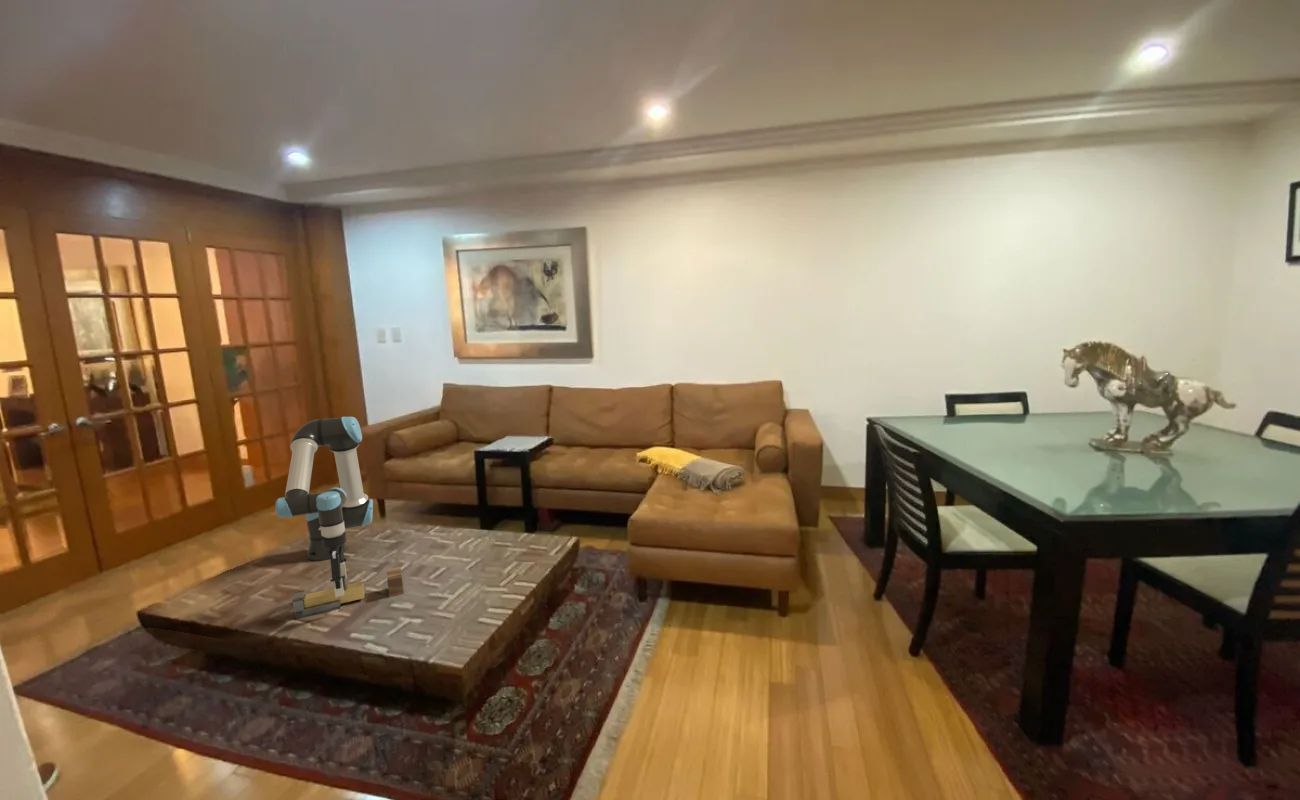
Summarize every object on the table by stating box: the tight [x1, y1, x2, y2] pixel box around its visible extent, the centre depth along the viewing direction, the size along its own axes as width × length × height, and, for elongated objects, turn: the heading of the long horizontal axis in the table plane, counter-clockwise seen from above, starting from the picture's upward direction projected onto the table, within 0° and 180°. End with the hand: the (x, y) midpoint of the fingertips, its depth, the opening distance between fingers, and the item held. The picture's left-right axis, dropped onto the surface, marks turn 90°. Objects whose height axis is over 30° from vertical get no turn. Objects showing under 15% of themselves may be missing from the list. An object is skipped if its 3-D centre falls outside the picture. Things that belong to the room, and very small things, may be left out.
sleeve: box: [291, 589, 342, 620], centre depth 194 cm, size 6×14×7 cm, turn 116°
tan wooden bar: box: [303, 575, 366, 609], centre depth 195 cm, size 4×22×9 cm, turn 116°
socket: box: [386, 565, 405, 598], centre depth 205 cm, size 7×5×8 cm
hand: (341, 587), depth 196 cm, fingers open, 13 cm apart
